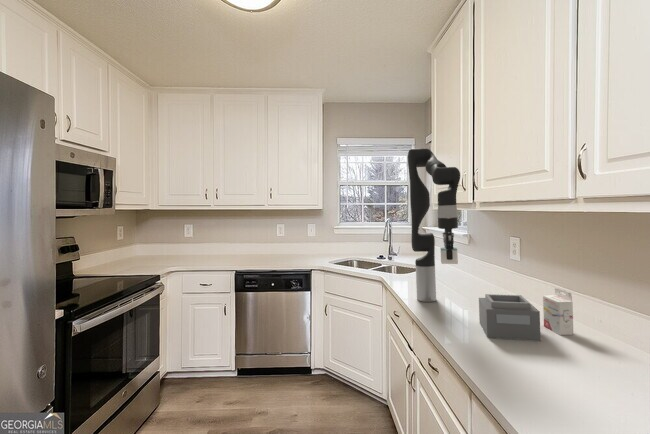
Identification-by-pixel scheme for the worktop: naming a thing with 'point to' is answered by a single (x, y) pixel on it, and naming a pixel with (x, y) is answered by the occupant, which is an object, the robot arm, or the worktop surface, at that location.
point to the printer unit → (509, 317)
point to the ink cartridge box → (558, 312)
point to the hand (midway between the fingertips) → (449, 258)
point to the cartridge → (444, 256)
